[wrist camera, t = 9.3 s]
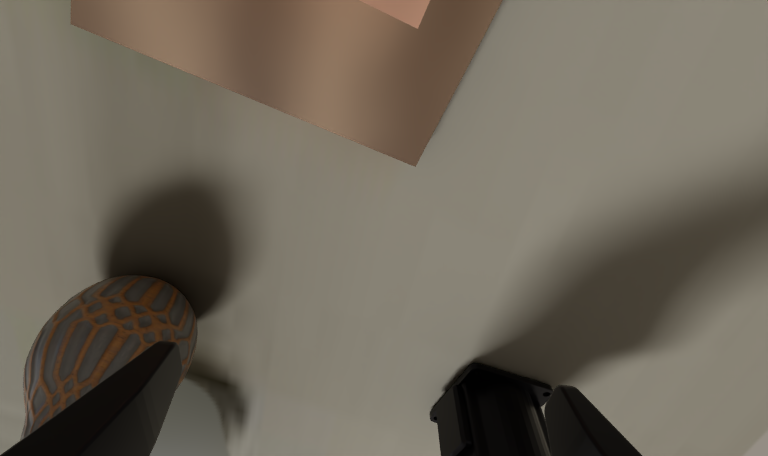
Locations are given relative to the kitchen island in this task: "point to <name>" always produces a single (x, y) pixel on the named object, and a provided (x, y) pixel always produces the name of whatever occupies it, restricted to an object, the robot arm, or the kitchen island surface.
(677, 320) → the kitchen island surface
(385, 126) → the board
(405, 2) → the square frame with post
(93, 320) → the patterned egg
